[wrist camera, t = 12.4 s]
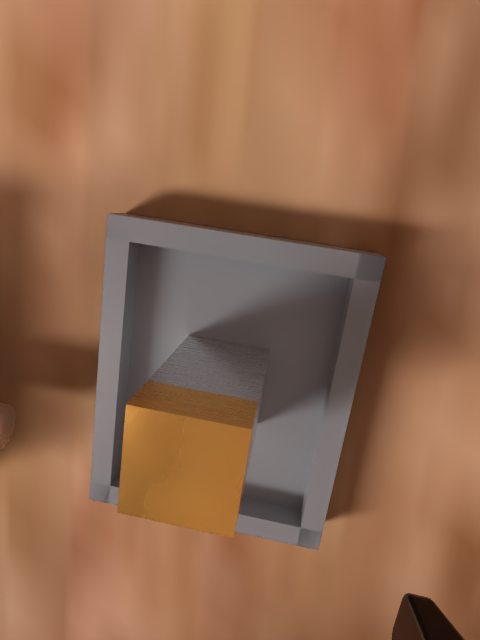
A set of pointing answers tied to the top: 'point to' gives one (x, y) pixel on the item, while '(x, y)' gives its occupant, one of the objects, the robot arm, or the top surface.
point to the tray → (244, 328)
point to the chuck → (6, 423)
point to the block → (193, 436)
